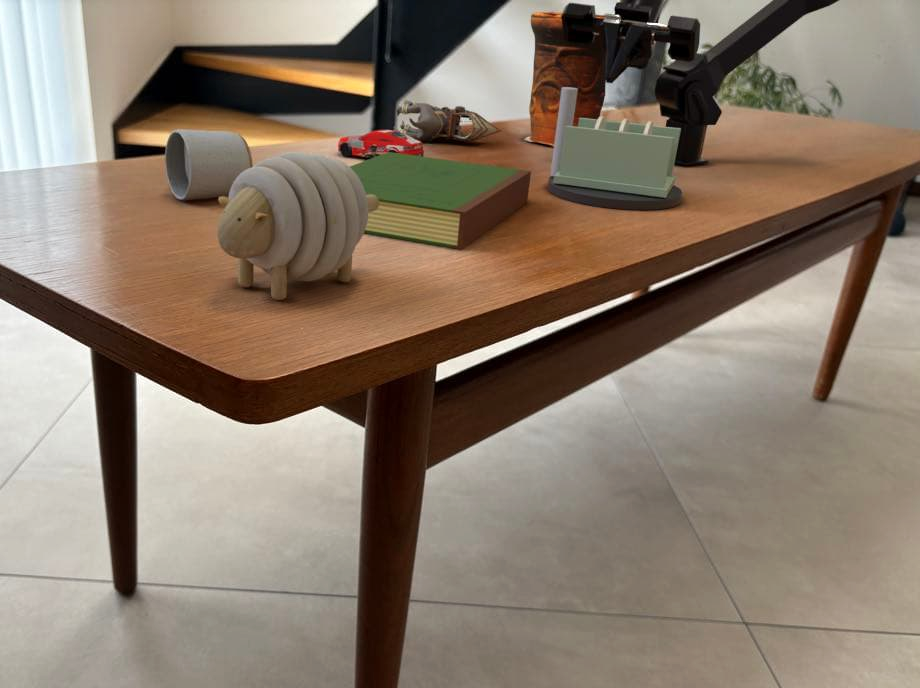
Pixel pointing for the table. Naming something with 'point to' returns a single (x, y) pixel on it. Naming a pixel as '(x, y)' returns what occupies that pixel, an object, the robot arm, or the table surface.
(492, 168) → the hardcover book
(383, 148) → the race car
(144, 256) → the table surface
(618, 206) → the turntable
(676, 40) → the robot arm
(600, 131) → the dish rack
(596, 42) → the vessel
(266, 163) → the toy sheep
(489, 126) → the figurine
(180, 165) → the ceramic mug
